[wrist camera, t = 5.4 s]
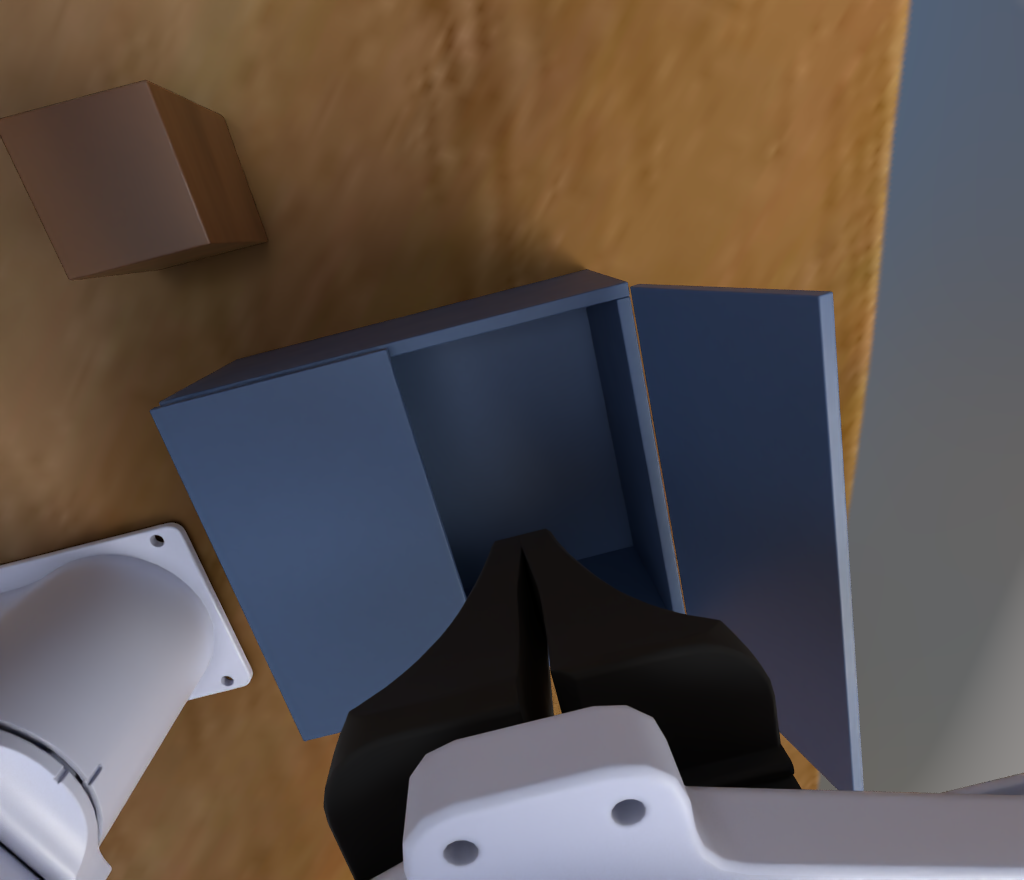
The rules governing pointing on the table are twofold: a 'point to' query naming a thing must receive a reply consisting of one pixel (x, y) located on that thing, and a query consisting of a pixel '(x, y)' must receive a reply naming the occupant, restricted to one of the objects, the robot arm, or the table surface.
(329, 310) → the table surface
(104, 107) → the block
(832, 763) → the flap
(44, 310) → the table surface
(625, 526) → the carton
